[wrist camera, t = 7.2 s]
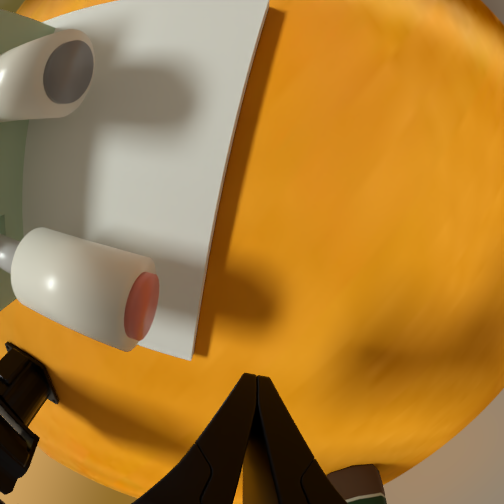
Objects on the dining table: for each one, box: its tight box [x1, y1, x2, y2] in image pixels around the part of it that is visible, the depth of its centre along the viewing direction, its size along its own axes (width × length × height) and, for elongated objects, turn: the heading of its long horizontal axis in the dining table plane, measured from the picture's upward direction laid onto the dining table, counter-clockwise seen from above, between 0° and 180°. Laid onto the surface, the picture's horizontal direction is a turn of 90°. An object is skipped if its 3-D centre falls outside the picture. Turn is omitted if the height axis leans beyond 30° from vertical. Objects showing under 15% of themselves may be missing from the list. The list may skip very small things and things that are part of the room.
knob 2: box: [0, 227, 159, 352], centre depth 10 cm, size 12×4×4 cm, turn 77°
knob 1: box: [0, 29, 95, 122], centre depth 7 cm, size 12×4×4 cm, turn 77°
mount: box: [0, 0, 269, 361], centre depth 9 cm, size 20×18×7 cm
